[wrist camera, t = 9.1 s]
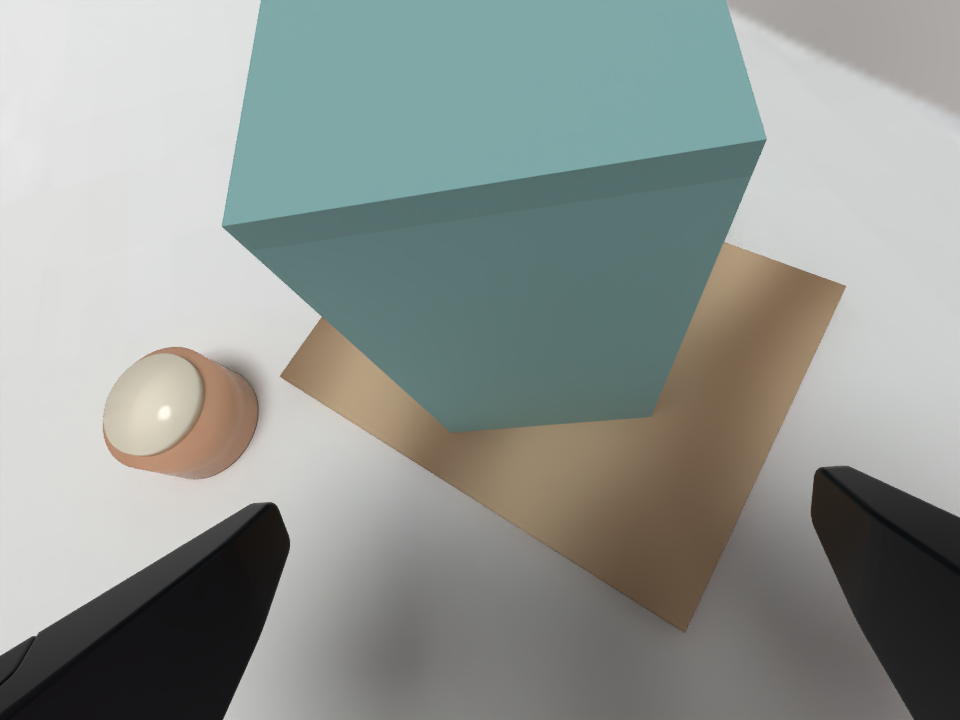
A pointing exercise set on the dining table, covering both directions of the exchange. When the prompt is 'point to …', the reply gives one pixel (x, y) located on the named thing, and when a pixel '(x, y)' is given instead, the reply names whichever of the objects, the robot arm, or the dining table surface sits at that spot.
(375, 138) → the cover
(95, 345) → the dining table surface
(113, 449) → the jar
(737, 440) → the mat
